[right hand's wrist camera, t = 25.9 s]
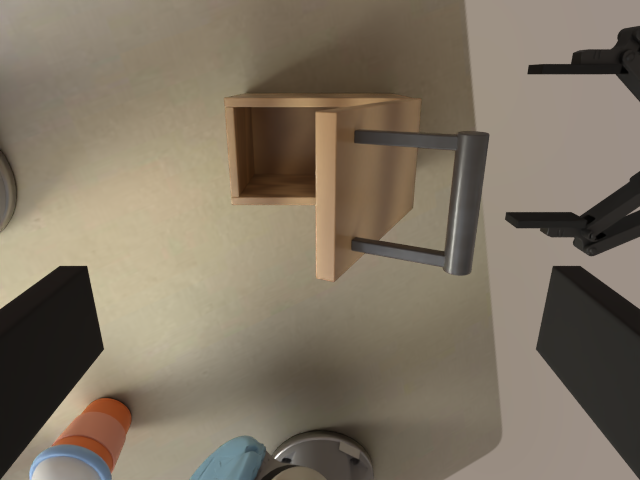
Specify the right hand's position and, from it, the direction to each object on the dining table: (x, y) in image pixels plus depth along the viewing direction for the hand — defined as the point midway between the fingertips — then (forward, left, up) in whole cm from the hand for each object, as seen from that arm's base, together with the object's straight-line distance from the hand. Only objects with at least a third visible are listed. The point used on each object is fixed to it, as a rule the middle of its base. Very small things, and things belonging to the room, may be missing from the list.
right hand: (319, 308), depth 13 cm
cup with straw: (-45, +15, -37) cm, 60 cm away
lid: (+1, -3, -19) cm, 19 cm away
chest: (0, 0, -37) cm, 37 cm away
